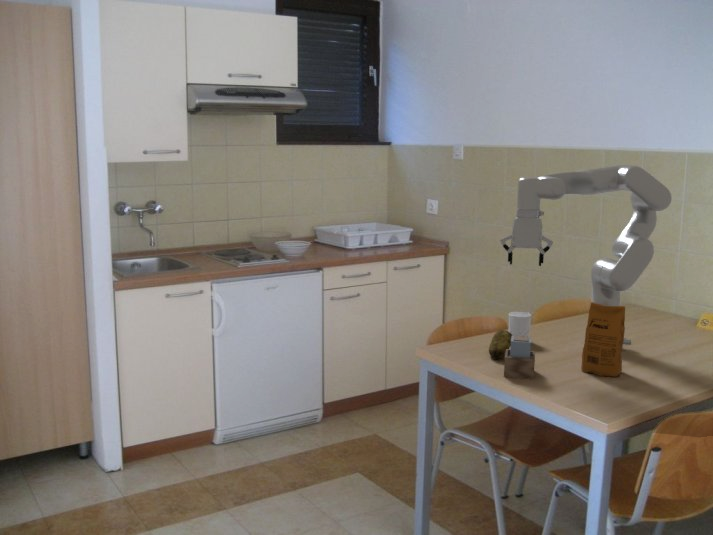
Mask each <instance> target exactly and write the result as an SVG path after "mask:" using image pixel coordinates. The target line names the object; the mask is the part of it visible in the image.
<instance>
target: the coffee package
mask: <svg viewBox="0 0 713 535" xmlns="http://www.w3.org/2000/svg"><path fill="white" fill-rule="evenodd" d="M625 320H626V305H620V306H604V305H601V304H598V303H594V302H591V301H590V306H589V309H588V319H587V325H586V328H585V334H584V335H585V336H584V341H585V343H584V342H583V346H582V352H581V368H580V369H581V372H583V373H593V374H595V375H597V376H601V377H614V378H615V377H618V376H619V374H621V372H622V371H623V370H622V369H623V364H622V363H623V361H622V352H623V350H624V349H623V345H624V344H623V341H624V338H625V332H626V331H625V329H626V326H625Z"/></svg>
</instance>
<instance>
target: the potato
mask: <svg viewBox="0 0 713 535" xmlns="http://www.w3.org/2000/svg"><path fill="white" fill-rule="evenodd" d="M511 336H512V334H511V333H510V332H509V330H505V329H504V330H503V329H502V330H500V329H499V330H497V331H496V332H495V333H494V334H493V336H492V338H491V341H490V343H489V347H488V353H489V356H491V358H493V359H495V360H500V359H502V358H503V357H505V352H506V349H510V348H511Z"/></svg>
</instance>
